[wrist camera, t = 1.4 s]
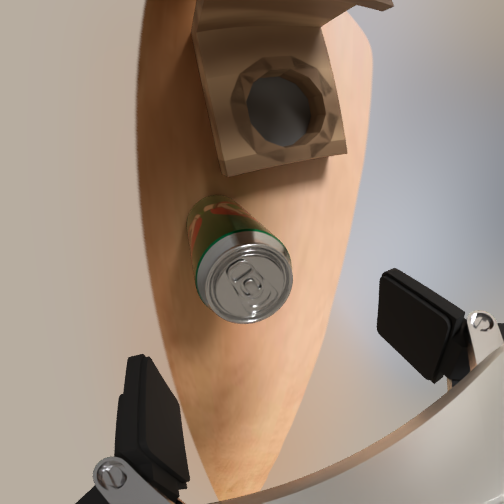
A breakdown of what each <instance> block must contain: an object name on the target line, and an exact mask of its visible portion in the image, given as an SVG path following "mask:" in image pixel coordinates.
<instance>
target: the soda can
mask: <svg viewBox="0 0 504 504" xmlns="http://www.w3.org/2000/svg"><path fill="white" fill-rule="evenodd" d="M187 233H188V240H189V246H190V253H191V260H192V266H193V272H194V278H195V284H196V288H197V292H198V294H199V296H200V298H201V300H202V301H203V303H204V304H205V305H206V306H207V307H208V308H209V309H210V310H212V311H213V312H215V313H216V314H217V315H218V316H219V317H221V318H223V319H224V320H227V321H229V322H232V323H238V324H249V323H255V322H258V321H261V320H264V319H266V318H268V317H269V316H271V315H273V314H274V313H275V312H276V311H278V310H279V309H280V308H281V307H282V305H283V304H284V303H285V301H286V300H287V298H288V296H289V294H290V291H291V288H292V283H293V275H292V266H291V259H290V256H289V253H288V251H287V249H286V248H285V246H284V245H283V243H282V242H281V241H280V240H279V239H278V238H276V237H275V236H274V235H273V234H272V233H271V232H270V231H269V230H267V229H266V228H265V227H264V226H263V225H262V224H261V223H260V222H258V221H257V220H256V219H255V218H254V217H253V216H252V215H250V214H249V213H248V212H247V211H246V210H245V209H244V208H242V207H241V206H240V205H239V204H238V203H237V202H235V201H234V200H233V199H231V198H229V197H226V196H223V195H212V196H208V197H205V198H203V199H202V200H200V201H199V202H197V203H196V204H195V205H194V206H193V208H192V209H191V211H190V213H189V215H188V219H187Z"/></svg>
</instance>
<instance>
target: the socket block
mask: <svg viewBox="0 0 504 504" xmlns="http://www.w3.org/2000/svg"><path fill="white" fill-rule="evenodd" d="M355 5H360V6H364V7H368V8H372V9H376V10H379V11H384V10H387V9H389V8H391V7H393V6H394V5H393V2H392V0H197V2H196V7H195V12H194V18H193V23H192V29H191V35H192V40H193V45H194V49H195V54H196V59H197V64H198V68H199V73H200V78H201V82H202V87H203V92H204V96H205V101H206V106H207V110H208V115H209V119H210V124H211V128H212V133H213V137H214V142H215V146H216V151H217V155H218V160H219V164H220V169H221V173H222V174H223V175H225V176H227V177H231V176H235V175H239V174H243V173H247V172H252V171H256V170H261V169H265V168H270V167H275V166H279V165H284V164H289V163H294V162H300V161H305V160H310V159H316V158H322V157H328V156H334V155H340V154H347V147H346V140H345V134H344V128H343V122H342V116H341V110H340V105H339V100H338V95H337V90H336V85H335V81H334V76H333V72H332V68H331V64H330V60H329V56H328V52H327V48H326V44H325V41H324V37H323V34H322V30H321V26H323V25H324V24H326V23H328V22H329V21H331V20H332V19H334V18H335V17H337V16H338V15H340V14H342V13H343V12H345V11H347V10H348V9H350V8H352V7H353V6H355Z"/></svg>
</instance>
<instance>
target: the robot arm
mask: <svg viewBox="0 0 504 504" xmlns="http://www.w3.org/2000/svg"><path fill="white" fill-rule="evenodd" d="M379 285H380V286H379V305H378V318H377V331H378V333H379V334H380V335H381V336H382V337H383V338H384V339H385V340H386V341H387V342H388V343H389V344H390V345H391V346H392V347H393V348H394V349H395V350H396V351H398V353H399V354H401V355H402V356H403V357H404V358H405V359H406V360H407V361H408V362H409V363H410V364H411V365H412V366H413V367H414V368H415V369H416V370H417V371H418V372H419V373H420V374H421V375H422V376H423V377H424V378H426V379H427V380H431V381H432V382H433V383H434V384H435V383H436V382H437V381H439V380H440V379H441V378H442V377H443V375H445V376H446V377H447V389H448V392H447V393H446V394H444V395H443V396H442V397H441V398H440V399H438V400H437V401H436V402H434V403H433V404H432V405H431V406H429V407H428V408H427V409H425V410H424V411H423V412H421V413H420V414H419V415H417V416H416V417H415V418H413V419H411V420H410V421H409V422H407V423H406V424H404V425H403V426H401V427H400V428H398V429H397V430H395V431H394V432H392V433H390V434H389V435H387V436H386V437H384V438H382V439H381V440H379V441H377V442H375V443H374V444H372V445H370V446H369V447H367V448H365V449H363V450H361V451H359V452H357V453H355V454H353V455H352V456H350V457H348V458H346V459H344V460H342V461H340V462H337V463H335V464H333V465H331V466H329V467H326V468H324V469H322V470H319V471H317V472H315V473H312V474H310V475H307V476H305V477H302V478H299V479H297V480H294V481H291V482H288V483H286V484H283V485H280V486H277V487H273V488H270V489H267V490H263V491H260V492H256V493H253V494H249V495H245V496H241V497H237V498H233V499H229V500H224V501H219V502H214V503H209V504H504V323H497V321H496V319H495V318H494V317H493V316H492V315H491V314H490V313H488V312H485V311H481V310H477V311H473V312H471V313H470V314H469V315H468V317H467V320H466V319H465V318H464V315H465V312H464V311H463V310H461V309H460V308H458V307H457V306H455V305H454V304H452V303H451V302H449V301H448V300H446V299H445V298H443V297H441V296H440V295H438V294H437V293H435V292H434V291H432V290H431V289H429V288H427V287H426V286H424V285H423V284H421V283H420V282H418V281H416V280H415V279H413V278H411V277H410V276H408V275H406V274H405V273H403V272H402V271H400V270H398V269H396V268H393V269H391V270H388V271H386V272H384V273H383V274H382V277H381V278H380V284H379ZM93 481H94V483H95V486H94V487H93V488H92V489H91V490H90V491H89V492H87V493H86V494H85V495H84V496H83V497H82V498H81V499H80V500H79V501H78V502H77V503H76V504H185V503H184V502H183V501H181V500H180V499H179V498H178V497H179V491H178V490H180V489H187V484H186V482H189V481H190V476H189V470H188V464H187V459H186V452H185V446H184V438H183V431H182V422H181V414H180V406H179V403H178V401H177V399H176V398H175V396H174V395H173V393H172V392H171V390H170V389H169V387H168V386H167V384H166V382H165V381H164V379H163V378H162V376H161V374H160V373H159V371H158V369H157V368H156V366H155V364H154V363H153V361H152V359H151V358H150V357H145V355H144V354H140V355H136V356H131V357H129V358H128V361H127V368H126V376H125V384H124V393H123V394H121V395H120V396H119V401H118V411H117V421H116V434H115V454H114V457H107V458H104V459H103V460H101V461H100V462H99V463H98V464H97V465H96V466H95V469H94V471H93Z"/></svg>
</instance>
